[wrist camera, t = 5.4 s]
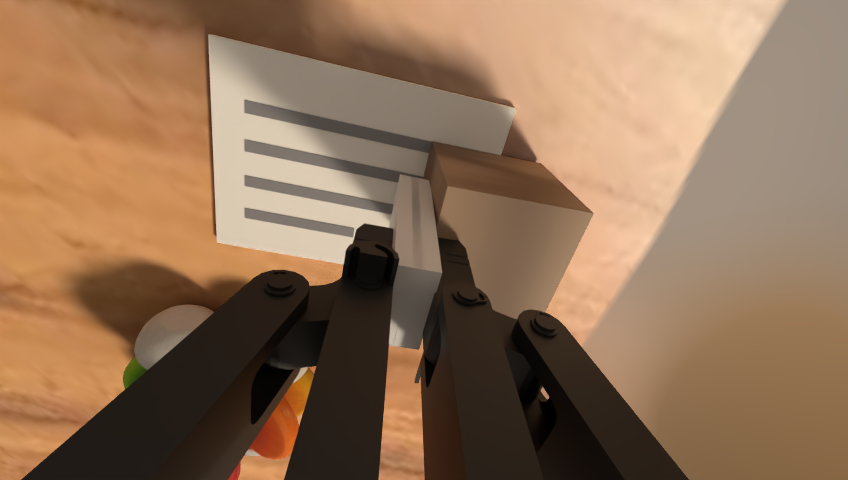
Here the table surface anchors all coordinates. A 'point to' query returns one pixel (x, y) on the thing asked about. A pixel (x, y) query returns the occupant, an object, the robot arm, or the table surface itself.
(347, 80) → the letter
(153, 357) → the rainbow petal toy
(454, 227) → the walnut block
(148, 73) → the table surface
